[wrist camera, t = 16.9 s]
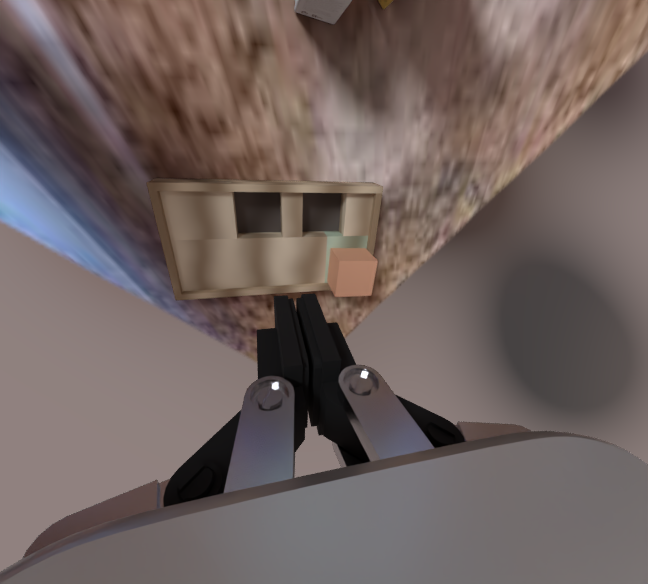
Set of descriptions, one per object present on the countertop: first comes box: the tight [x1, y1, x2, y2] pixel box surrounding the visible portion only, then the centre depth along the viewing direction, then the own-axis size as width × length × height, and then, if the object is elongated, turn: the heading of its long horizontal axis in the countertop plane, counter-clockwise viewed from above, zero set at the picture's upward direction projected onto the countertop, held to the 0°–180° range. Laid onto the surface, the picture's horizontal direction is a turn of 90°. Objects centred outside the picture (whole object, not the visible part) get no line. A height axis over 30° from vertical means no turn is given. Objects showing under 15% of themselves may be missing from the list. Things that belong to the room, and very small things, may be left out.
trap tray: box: [147, 178, 383, 300], centre depth 36 cm, size 26×14×3 cm, turn 87°
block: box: [327, 248, 378, 297], centre depth 37 cm, size 5×5×4 cm
